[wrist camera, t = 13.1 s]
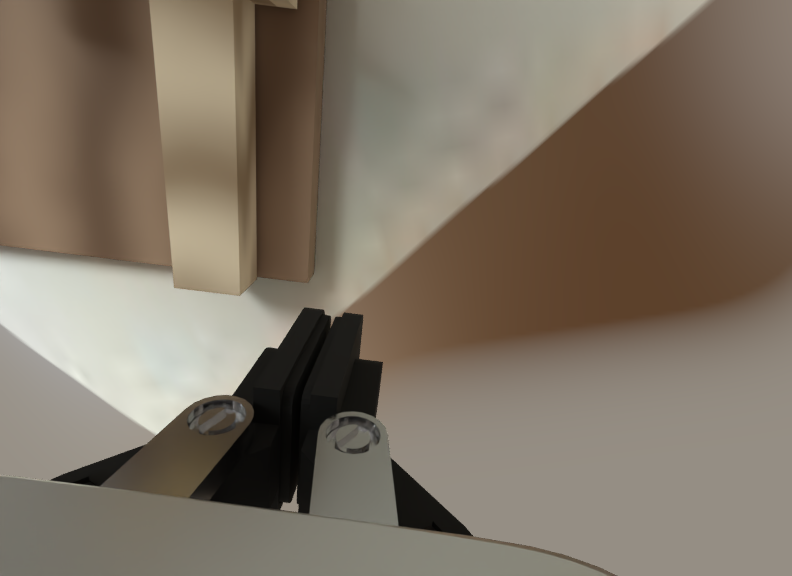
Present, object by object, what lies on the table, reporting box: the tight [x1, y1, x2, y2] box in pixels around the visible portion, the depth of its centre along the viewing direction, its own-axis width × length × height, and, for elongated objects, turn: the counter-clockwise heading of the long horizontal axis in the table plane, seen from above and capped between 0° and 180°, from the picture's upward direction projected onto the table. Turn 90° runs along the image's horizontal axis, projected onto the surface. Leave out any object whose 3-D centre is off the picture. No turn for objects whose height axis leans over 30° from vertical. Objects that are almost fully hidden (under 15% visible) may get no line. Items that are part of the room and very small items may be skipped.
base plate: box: [0, 0, 327, 283], centre depth 18 cm, size 19×22×2 cm
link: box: [149, 0, 297, 296], centre depth 17 cm, size 18×6×2 cm, turn 173°
